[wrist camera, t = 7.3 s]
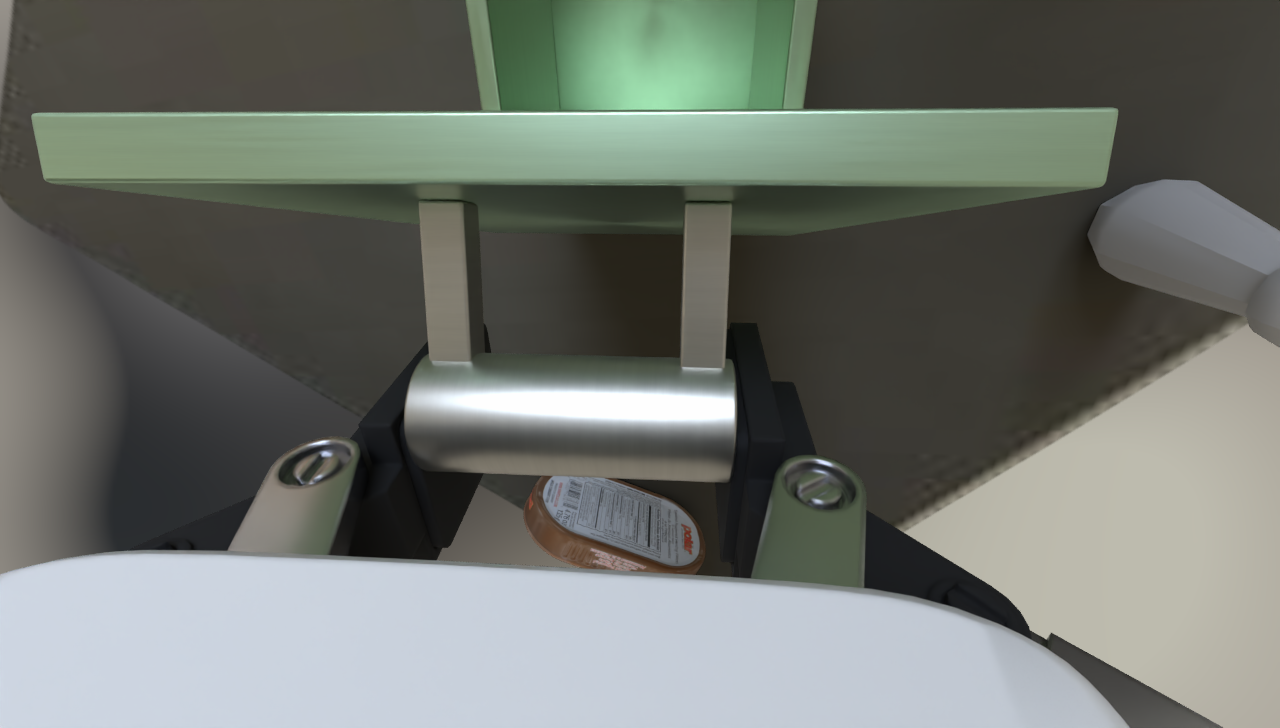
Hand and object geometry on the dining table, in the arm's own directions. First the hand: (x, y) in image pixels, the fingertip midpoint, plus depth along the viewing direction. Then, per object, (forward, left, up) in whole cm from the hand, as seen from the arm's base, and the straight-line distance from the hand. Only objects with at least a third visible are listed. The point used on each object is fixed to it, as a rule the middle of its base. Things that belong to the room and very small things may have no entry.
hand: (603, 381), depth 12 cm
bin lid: (-3, 0, -4) cm, 5 cm away
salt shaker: (+3, +28, -24) cm, 38 cm away
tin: (+27, -3, -24) cm, 36 cm away
